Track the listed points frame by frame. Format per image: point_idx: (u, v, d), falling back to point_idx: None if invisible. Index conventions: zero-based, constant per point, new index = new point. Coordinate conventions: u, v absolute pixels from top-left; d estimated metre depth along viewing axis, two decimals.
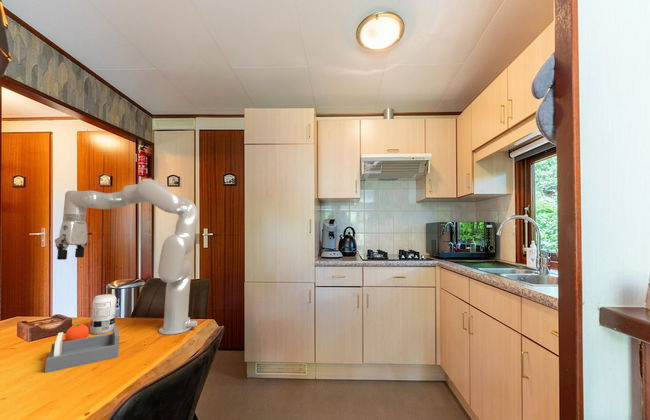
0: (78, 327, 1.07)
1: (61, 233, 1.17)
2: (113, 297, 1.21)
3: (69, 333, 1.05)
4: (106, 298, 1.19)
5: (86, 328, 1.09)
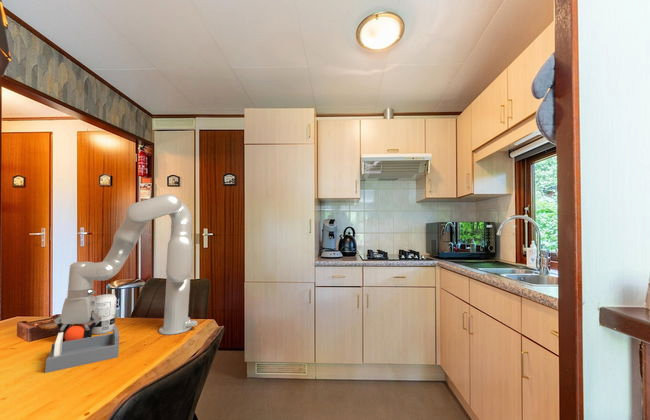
0: (77, 327, 1.07)
1: (90, 310, 1.08)
2: (113, 297, 1.21)
3: (69, 333, 1.05)
4: (106, 298, 1.19)
5: (85, 328, 1.09)
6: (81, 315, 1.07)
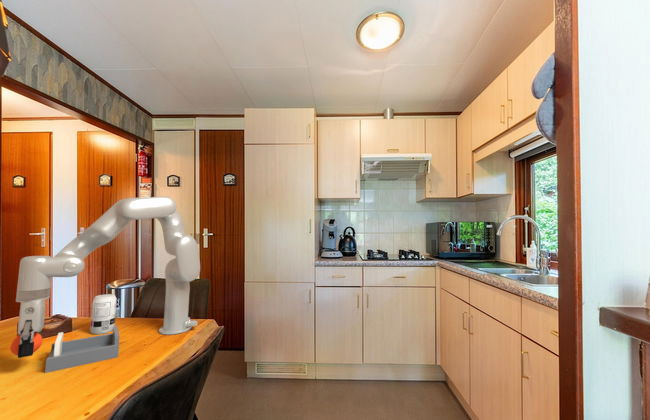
0: (20, 336, 0.86)
1: (23, 319, 0.84)
2: (113, 297, 1.21)
3: (12, 342, 0.86)
4: (106, 298, 1.19)
5: None
6: None
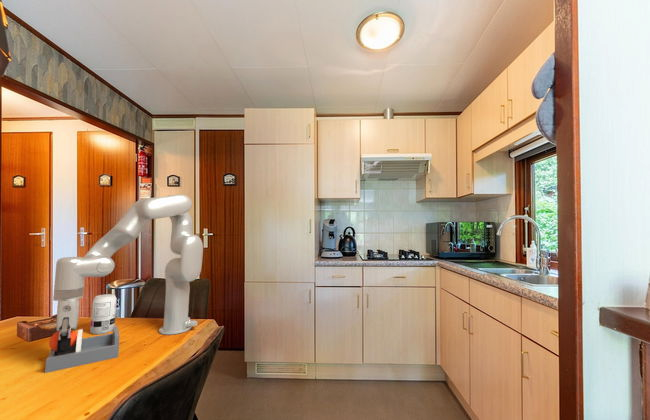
0: (57, 333, 0.92)
1: (61, 316, 0.90)
2: (113, 297, 1.21)
3: None
4: (106, 298, 1.19)
5: None
6: None
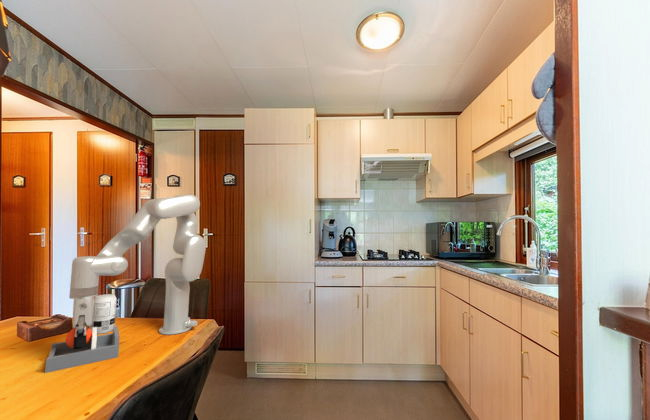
0: (73, 330, 0.94)
1: (77, 314, 0.92)
2: (113, 297, 1.21)
3: None
4: (106, 298, 1.19)
5: None
6: None
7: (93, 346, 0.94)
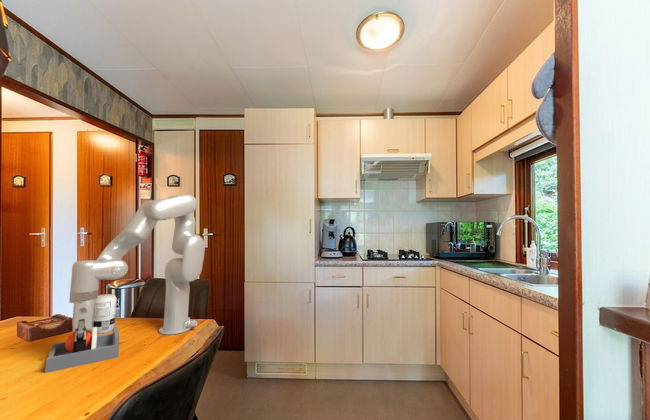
0: (73, 334, 0.94)
1: (77, 318, 0.92)
2: (113, 297, 1.21)
3: None
4: (106, 298, 1.19)
5: None
6: None
7: (93, 346, 0.94)
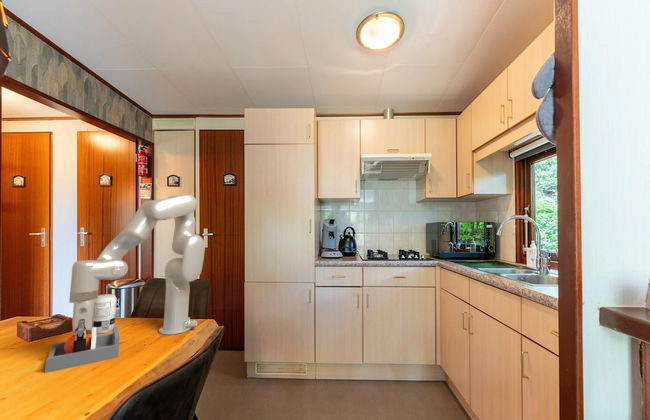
0: (71, 338, 0.94)
1: (77, 318, 0.92)
2: (113, 297, 1.21)
3: None
4: (106, 298, 1.19)
5: None
6: None
7: (92, 346, 0.93)
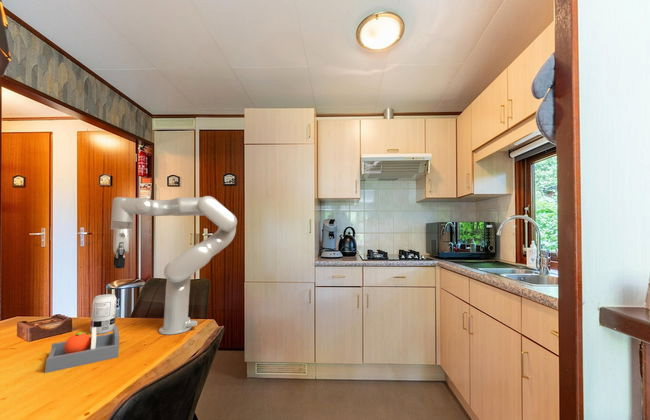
0: (71, 338, 0.94)
1: (118, 241, 1.14)
2: (113, 297, 1.21)
3: None
4: (106, 298, 1.19)
5: (78, 341, 0.93)
6: (114, 244, 1.15)
7: (92, 346, 0.93)
